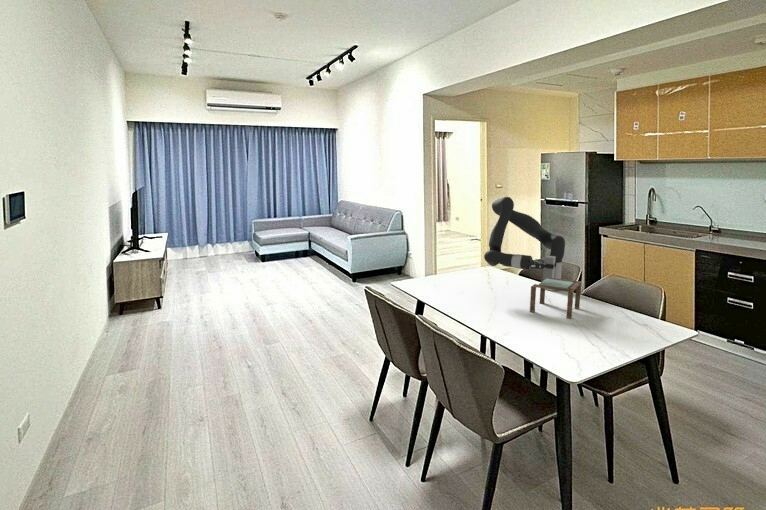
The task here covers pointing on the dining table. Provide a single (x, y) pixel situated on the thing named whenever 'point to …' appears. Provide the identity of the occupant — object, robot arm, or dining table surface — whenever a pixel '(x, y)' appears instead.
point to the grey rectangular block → (548, 272)
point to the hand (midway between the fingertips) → (554, 265)
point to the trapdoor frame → (570, 291)
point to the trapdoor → (557, 283)
